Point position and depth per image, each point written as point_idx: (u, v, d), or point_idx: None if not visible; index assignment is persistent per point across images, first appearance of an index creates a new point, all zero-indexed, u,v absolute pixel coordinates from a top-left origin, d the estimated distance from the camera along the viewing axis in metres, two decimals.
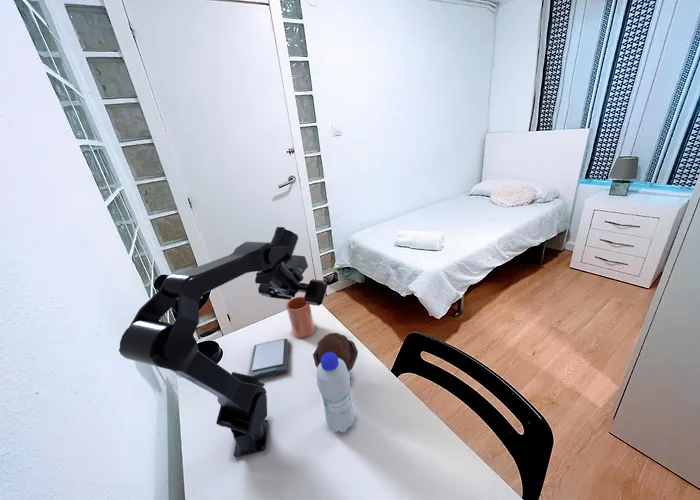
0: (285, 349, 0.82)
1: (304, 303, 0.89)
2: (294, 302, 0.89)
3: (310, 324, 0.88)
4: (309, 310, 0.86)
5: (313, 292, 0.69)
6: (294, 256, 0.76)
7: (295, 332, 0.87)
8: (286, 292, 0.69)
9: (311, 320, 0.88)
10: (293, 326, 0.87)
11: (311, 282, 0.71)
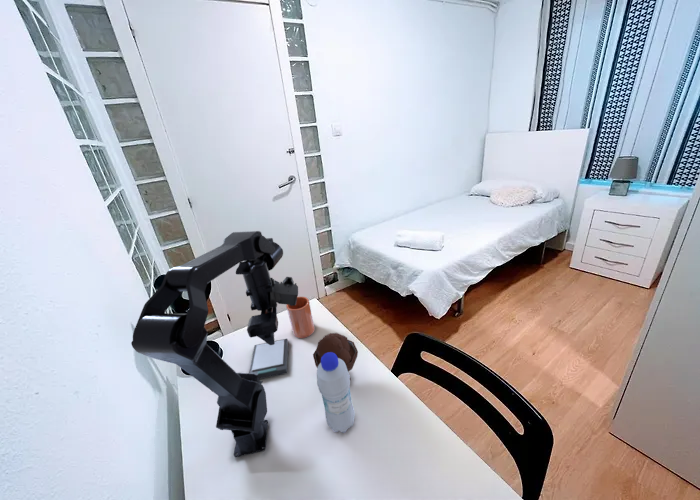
0: (285, 349, 0.82)
1: (304, 303, 0.89)
2: None
3: (310, 324, 0.88)
4: (309, 310, 0.86)
5: (256, 320, 0.61)
6: (295, 287, 0.69)
7: (295, 332, 0.87)
8: (251, 299, 0.66)
9: (311, 320, 0.88)
10: (293, 326, 0.87)
11: (269, 313, 0.63)
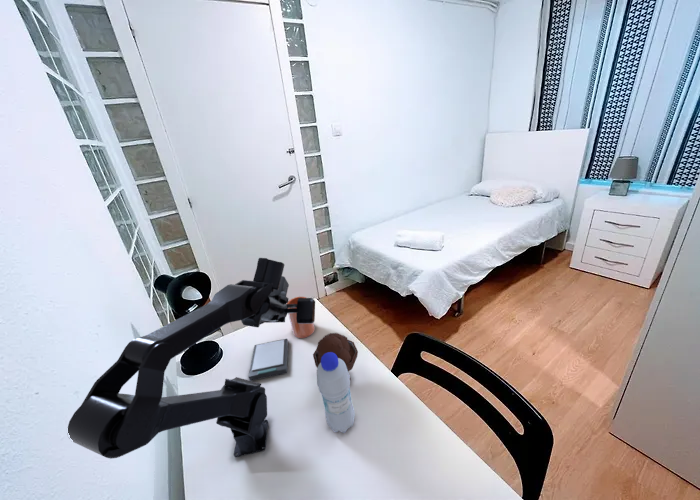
0: (285, 349, 0.82)
1: None
2: (294, 302, 0.89)
3: (310, 324, 0.88)
4: None
5: (304, 313, 0.68)
6: None
7: (295, 332, 0.87)
8: None
9: None
10: (293, 326, 0.87)
11: (299, 302, 0.69)
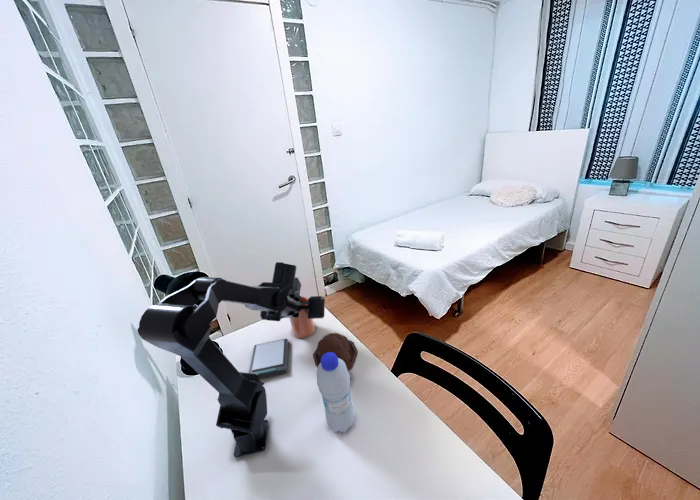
0: (285, 349, 0.82)
1: None
2: None
3: (310, 324, 0.88)
4: None
5: (316, 309, 0.79)
6: None
7: (295, 332, 0.87)
8: (292, 315, 0.77)
9: (311, 320, 0.88)
10: (293, 326, 0.87)
11: (310, 300, 0.80)
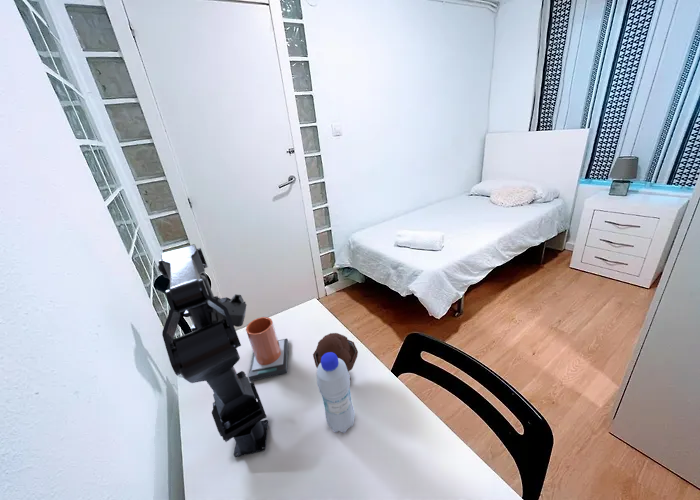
0: (285, 349, 0.82)
1: (268, 324, 0.79)
2: (257, 323, 0.78)
3: (275, 349, 0.77)
4: (272, 333, 0.75)
5: None
6: (243, 306, 0.64)
7: (257, 358, 0.76)
8: (192, 320, 0.61)
9: (276, 344, 0.77)
10: (254, 352, 0.76)
11: None
